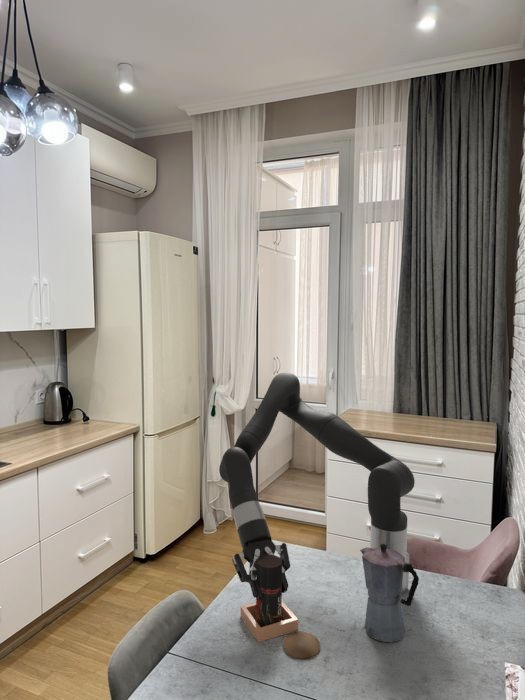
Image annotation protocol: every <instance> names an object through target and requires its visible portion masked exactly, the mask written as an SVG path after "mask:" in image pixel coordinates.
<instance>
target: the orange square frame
mask: <svg viewBox="0 0 525 700" xmlns="http://www.w3.org/2000/svg"><path fill="white" fill-rule="evenodd" d="M254 616H256V601H255V602H252V603H249V604H244V605H242V606H240V616H239V617H240V618H241V619H242V621H243V622H244V624H245V626H246V627H247V628H248V630H249V631H250V633H251V634H252V636H253V637H254V638H255V641H257V643H261V642H265V641H267V640H270V639H274V638H276V637H280V636H283V635H286V634H287V635H288V634H290V633H292V632H297V631H299V619H298V618H297V616H296V615H295V614H294V612H293V611H292V610H291V609H289V607H288V606H287V605H286V604H285V603H284V602H283V600H282V610H281V618H282V619H284V620H281V622H278V623H274V624H271V625H268V626H265V627H260V626H259V625H258V623H257V622H256V618H254Z"/></svg>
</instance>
